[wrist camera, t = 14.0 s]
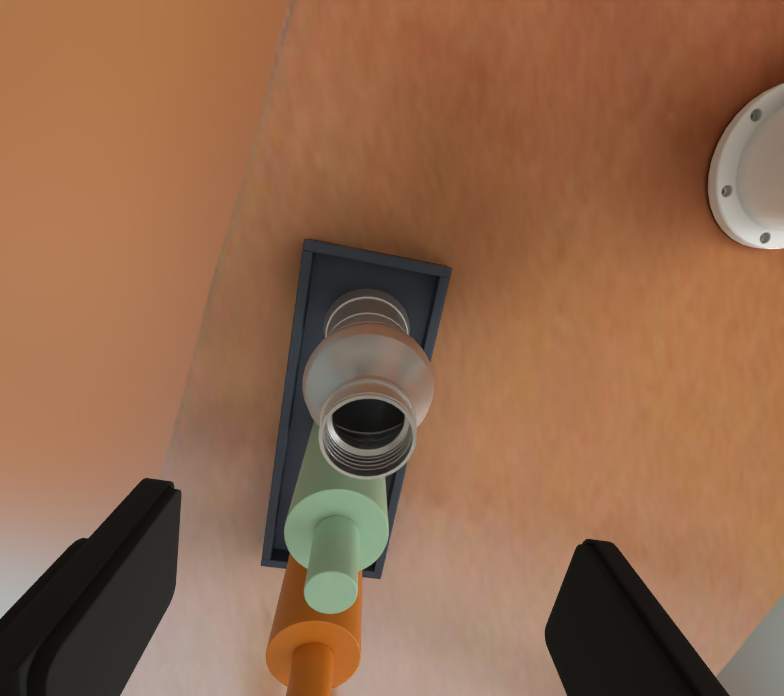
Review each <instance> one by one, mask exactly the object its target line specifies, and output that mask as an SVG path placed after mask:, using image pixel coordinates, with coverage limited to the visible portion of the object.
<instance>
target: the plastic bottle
mask: <svg viewBox="0 0 784 696" xmlns="http://www.w3.org/2000/svg"><path fill="white" fill-rule="evenodd" d="M409 334H410V325H409V319H408V316H407V313H406V311H405V309H404V308H403V306H402V305H401V304H400V303H399V302H398V300H397V299H395V298H394V297H393V296H391V295H390V294H388V293H386V292H383V291H380V290H377V289H369V288H364V289H356V290H353V291H350V292H348V293H346V294H344V295H342V296H341V297H339V298H338V299H337V300H336V301H335V302H334V303H333V304H332V306H331V307H330V308H329V310H328V312H327V314H326V317H325V321H324V337H325V339H323V340H322V341H321V343H320V344H319V345H318V346H317V347H316V349H315V350H314V351H313V353H312V354H311V356H310V358H309V360H308V362H307V364H306V367H305V370H304V374H303V386H302V389H303V395H304V400H305V402H306V405H307V407H308V410H309V412H310V414H311V417H312V418H313V420H314V421H315V422H316V424H317V425H318V426H319V437H318V438H319V444H320V449H321V452H322V454H323V456H324V458H325V459H326V460H327V462H328V463H329V464H330V465H331V466H332V467H333V468H334V469H335V470H337V471H339V472H340V473H342V474H344V475H347V476H349V477H352V478H357V479H377V478H381V477H384V476H388V475H390V474H392V473H394V472H396V471H397V470H398V469H400V468H401V467H402V466H403V465H404V464H405V463H406V462H407V461H408V460H409V458H410V457H411V455H412V453H413V451H414V448H415V445H416V438H417V429H416V428H417V427H418V426H419V425H420V424H421V423H422V421H423V420H424V418H425V416H426V415H427V413H428V410H429V407H430V404H431V402H432V399H433V395H434V387H435V381H434V372H433V369H432V366H431V363H430V361H429V359H428V357H427V355H426V354H425V352H424V351H423V349H422V348H421V347H420V346H419V344H418V343H417V342H416V341H415V340H414V339H413V338H412V337H410V336H409Z"/></svg>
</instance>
